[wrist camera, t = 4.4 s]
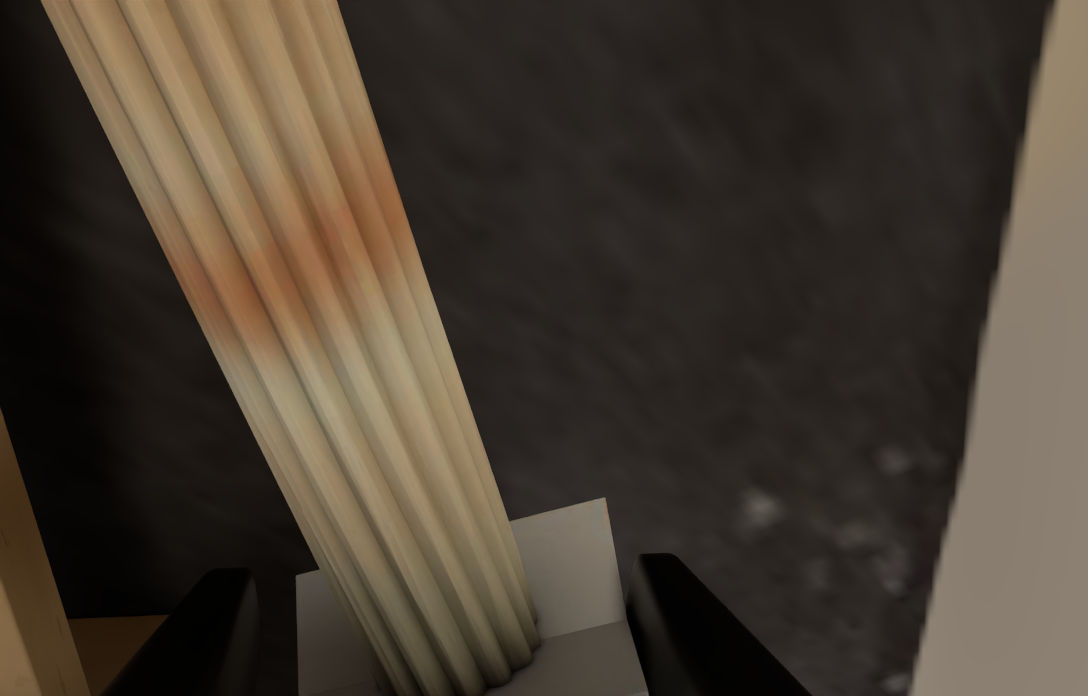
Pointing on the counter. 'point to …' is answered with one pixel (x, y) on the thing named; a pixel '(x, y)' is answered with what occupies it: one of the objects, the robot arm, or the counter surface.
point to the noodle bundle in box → (343, 357)
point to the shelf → (49, 610)
